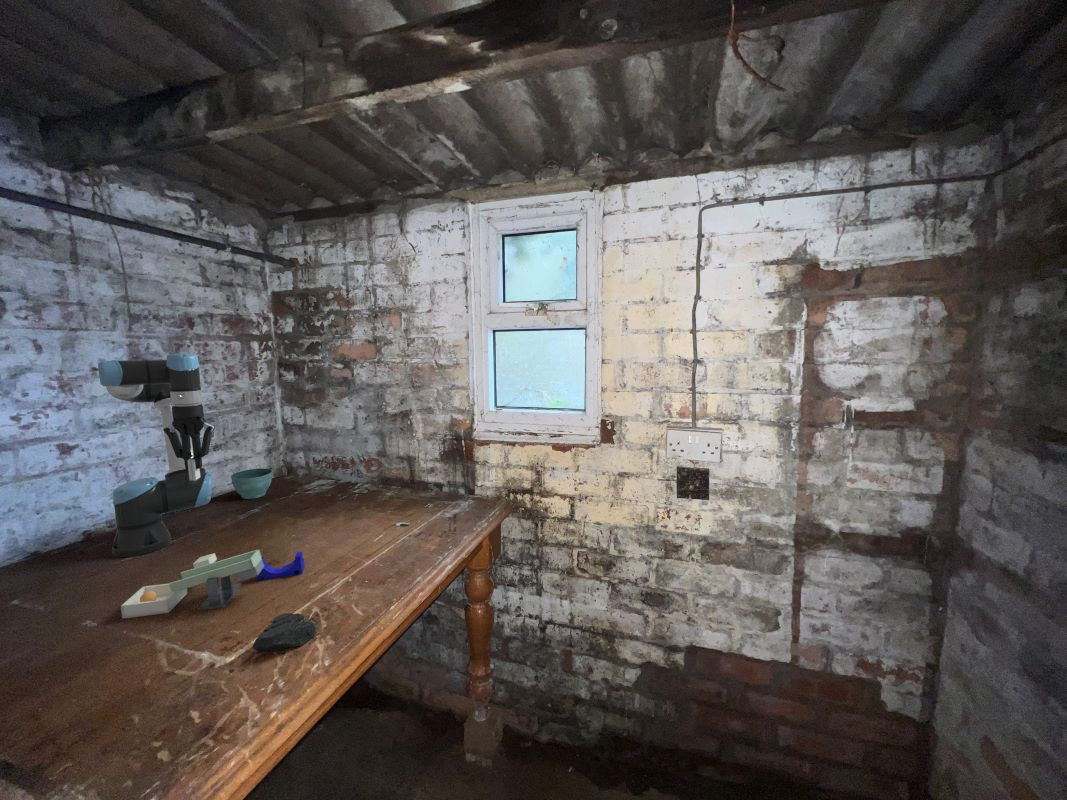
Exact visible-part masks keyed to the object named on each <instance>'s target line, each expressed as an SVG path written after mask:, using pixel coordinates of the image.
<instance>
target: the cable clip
mask: <svg viewBox="0 0 1067 800" xmlns="http://www.w3.org/2000/svg"><path fill="white" fill-rule="evenodd" d="M303 556H304V555H303V551H298V552H296V553H295V556H294V560H293V561H292V562H290V563H288V564H286V565H282V567H281V568H277V567H272V566H270V565H269V564H268V563H267V562H266V561H265V557H264V556H262V557H261V558H262V561H263V564H264V567H263V569H262V570H261V572H260V573H259V574H258V575H257V576H255V577H256V581H258V580H259V581H266V580H272V579H278V578H284V577H292V576H298V575H303V572H304V569H305V559H304V557H303ZM265 579H266V580H265ZM259 581H258V582H259Z"/></svg>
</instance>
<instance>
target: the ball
mask: <svg viewBox="0 0 1067 800" xmlns="http://www.w3.org/2000/svg"><path fill="white" fill-rule="evenodd" d="M156 599H157V594H156V593H155V592H153V591H149V592H146V593H144V594H143V595H142V596H141V597H140V602H148V601H156Z"/></svg>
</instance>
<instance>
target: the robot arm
mask: <svg viewBox="0 0 1067 800" xmlns="http://www.w3.org/2000/svg"><path fill="white" fill-rule="evenodd" d="M97 369H98V370H97V371H98V378H99V384H100V385H101V386H102V387H105V388H106V391H107V393H108V394H109V395H110V396H111V397H113V398H115V399H118V400H122V401H125V402H129V403H153V405H154V407H155V408H156V409H159V410H160V414H161V415H160V416H161V420H162V421H161V422H162V428H163V435H164V441H165V447H166V448H165V449H166V455H167V462H168V468H169V470H168V471H167V472H166V473H165V475H164V478H165V479H162V480H159V479H158V477H156V476H154V477H152V476H151V477H144V478H143V477H142V478H139V479H135V480H131V481H129V482H126V483H123V484H120V485H119V486H117V487H116V488H115V489H114V490H113V492H112V504H113V508H114V516H115V525H116V533H115V537H114V540H113V544H112V546H111V550H112V556H114V557H117V558H129V557H136V556H141V555H145V554H150V553H152V552H155V551H157V550H160V549H163V548H165V547H166V546H168V545H170V543H171V542H172V536H171V532H170V531H169V530H168V528H167V526H166V525H165V522H164V521H163V514H168V513H173V512H179V511H182V510H187V509H192V508H197V507H201V506H205V505H207V504H209V503H210V501H211V499H212V490H213V478H212V473H211V472H209V471H208V472H206V468H205V467H203V459H202V458H204V457H205V456H207V455H209V453H210V447H211V441H212V434H213V432H214V430H215V428H216V426H215V425H214V424H212V425H211V424H209V423H208V422H207V420H206V419H205V417H204V415H205V414H204V405H203V404H202V403H203V394H202V388H201V376H200V375H201V373H200V363H199V356H198V355H196V354H195V353H169V354H168V355H166V359H145V360H141V359H138V360H134V359H133V360H126V359H125V360H116V359H113V360H102V361H99V362H98V364H97ZM202 430H204V432H203V437H202V443H201V432H202Z"/></svg>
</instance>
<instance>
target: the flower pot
mask: <svg viewBox="0 0 1067 800" xmlns="http://www.w3.org/2000/svg"><path fill="white" fill-rule="evenodd" d="M272 478H273V470H272V469H270V468H263V467H262V468H252V469H251V468H249V469H244V470H241V471H238V472H235V473H233V474H231V475H230V479H231V483H232V487H233V488H234V490H235V491H236V493H238V494H239V495H240V497H241V498H242V499H245V500H250V499H258V498H262V497H264V496H265V495H266V493H267V490H268V489H269V488H270V485H271V484H272V480H273V479H272Z"/></svg>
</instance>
